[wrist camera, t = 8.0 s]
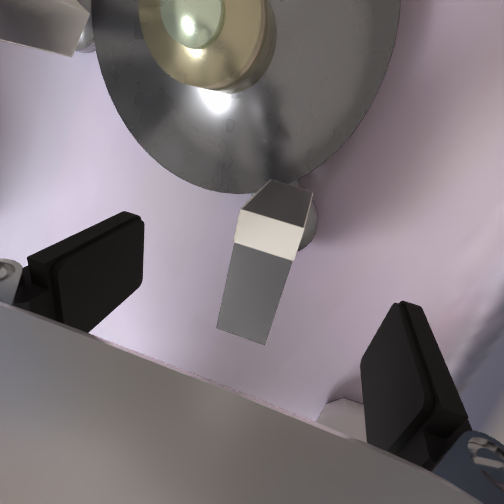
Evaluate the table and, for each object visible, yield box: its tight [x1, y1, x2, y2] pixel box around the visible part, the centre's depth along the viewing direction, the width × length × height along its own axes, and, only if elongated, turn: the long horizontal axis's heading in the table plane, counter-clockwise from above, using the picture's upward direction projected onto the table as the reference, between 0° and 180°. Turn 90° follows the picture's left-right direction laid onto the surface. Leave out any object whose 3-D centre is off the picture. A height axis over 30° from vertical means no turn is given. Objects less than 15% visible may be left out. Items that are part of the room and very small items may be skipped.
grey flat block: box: [216, 179, 314, 345], centre depth 16 cm, size 2×6×8 cm, turn 167°
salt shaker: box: [316, 398, 367, 443], centre depth 20 cm, size 6×6×13 cm
